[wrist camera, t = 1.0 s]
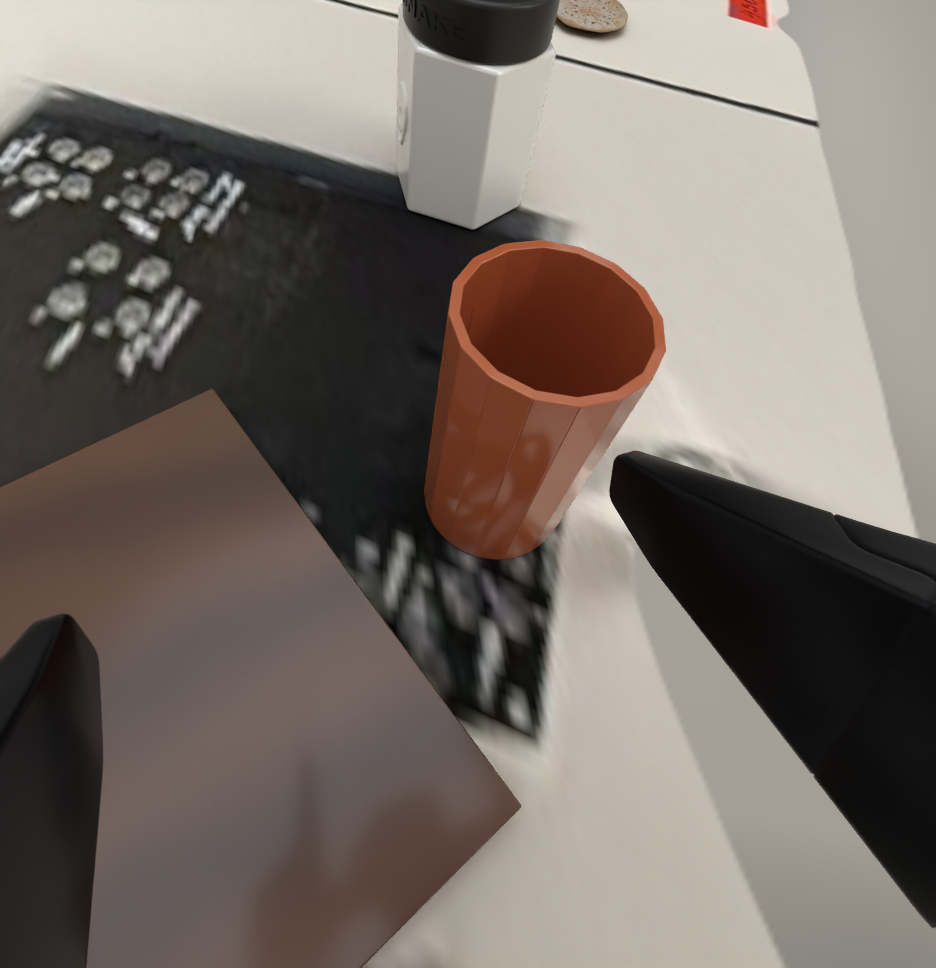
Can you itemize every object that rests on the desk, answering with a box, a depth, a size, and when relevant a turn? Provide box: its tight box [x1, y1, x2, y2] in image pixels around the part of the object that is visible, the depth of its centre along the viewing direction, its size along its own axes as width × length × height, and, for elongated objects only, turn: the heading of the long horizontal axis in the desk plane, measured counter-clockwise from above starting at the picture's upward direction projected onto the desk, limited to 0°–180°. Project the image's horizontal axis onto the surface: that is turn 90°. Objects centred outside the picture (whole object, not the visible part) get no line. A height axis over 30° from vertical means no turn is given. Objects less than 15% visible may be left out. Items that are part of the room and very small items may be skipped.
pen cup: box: [424, 240, 666, 560], centre depth 22 cm, size 7×7×12 cm
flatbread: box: [556, 0, 628, 33], centre depth 53 cm, size 8×8×1 cm
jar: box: [396, 0, 560, 230], centre depth 34 cm, size 9×8×12 cm
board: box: [0, 389, 521, 968], centre depth 21 cm, size 22×16×2 cm
